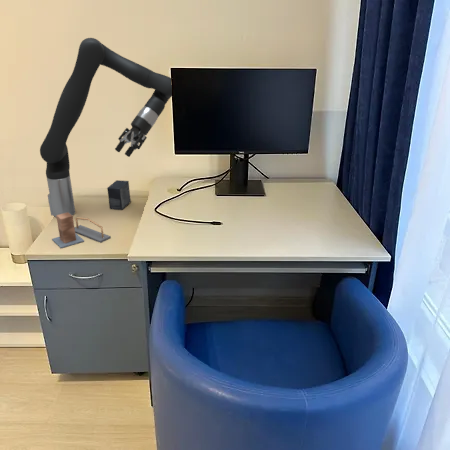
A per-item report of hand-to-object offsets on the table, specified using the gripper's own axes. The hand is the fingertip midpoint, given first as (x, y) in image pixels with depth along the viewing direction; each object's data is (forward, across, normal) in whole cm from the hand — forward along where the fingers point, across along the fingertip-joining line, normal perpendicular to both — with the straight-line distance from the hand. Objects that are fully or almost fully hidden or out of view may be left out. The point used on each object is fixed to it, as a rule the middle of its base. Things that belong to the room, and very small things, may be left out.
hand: (121, 153), depth 171 cm
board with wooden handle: (+34, +4, +7) cm, 35 cm away
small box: (+18, -16, +23) cm, 33 cm away
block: (+40, +4, 0) cm, 40 cm away
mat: (+40, +4, 0) cm, 40 cm away
